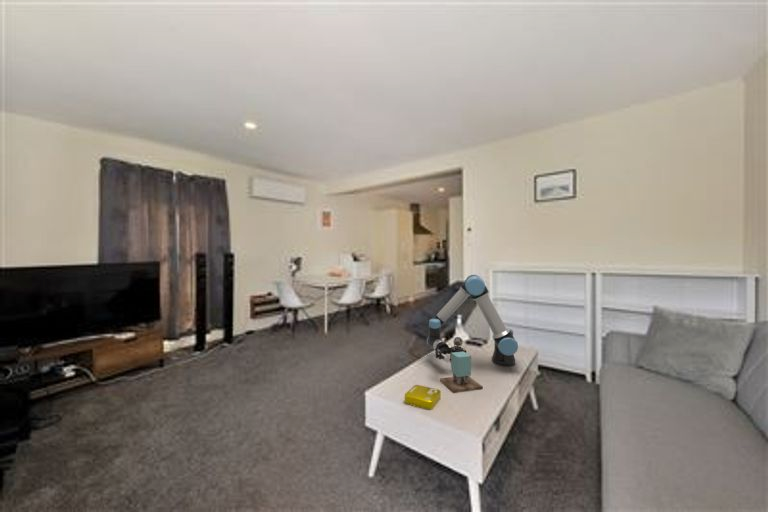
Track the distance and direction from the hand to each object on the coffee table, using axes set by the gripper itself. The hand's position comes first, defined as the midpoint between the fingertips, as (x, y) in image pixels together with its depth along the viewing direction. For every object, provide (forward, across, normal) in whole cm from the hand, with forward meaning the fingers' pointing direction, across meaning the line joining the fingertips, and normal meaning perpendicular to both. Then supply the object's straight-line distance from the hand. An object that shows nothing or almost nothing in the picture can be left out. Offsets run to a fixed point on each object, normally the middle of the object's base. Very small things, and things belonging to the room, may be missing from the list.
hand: (457, 358), depth 183 cm
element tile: (+14, +28, -15) cm, 34 cm away
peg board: (+3, 0, -14) cm, 14 cm away
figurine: (-33, -18, -14) cm, 40 cm away
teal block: (+3, 0, -8) cm, 8 cm away
